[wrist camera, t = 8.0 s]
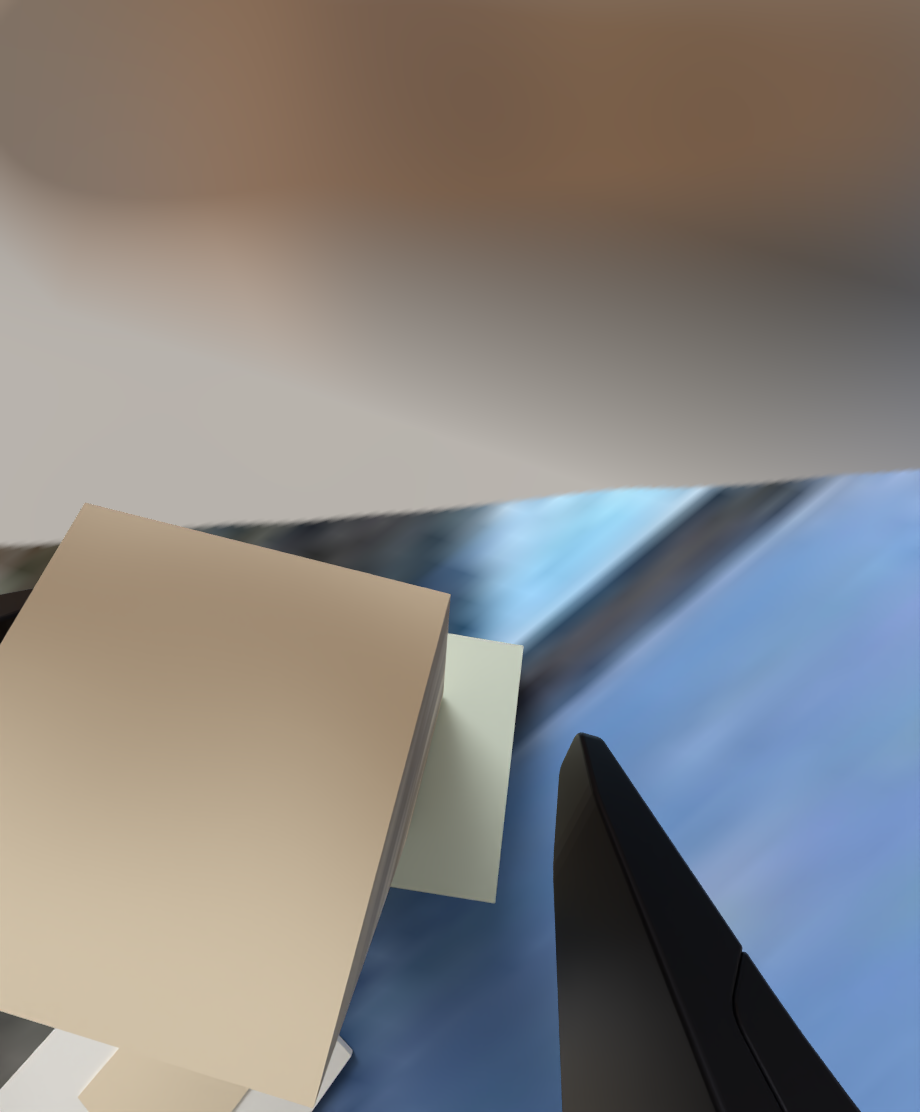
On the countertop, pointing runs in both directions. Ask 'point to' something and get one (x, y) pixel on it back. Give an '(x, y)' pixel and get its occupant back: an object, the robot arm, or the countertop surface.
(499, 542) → the countertop surface
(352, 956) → the beech pillar
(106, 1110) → the card
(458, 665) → the sage slab
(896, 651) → the countertop surface
